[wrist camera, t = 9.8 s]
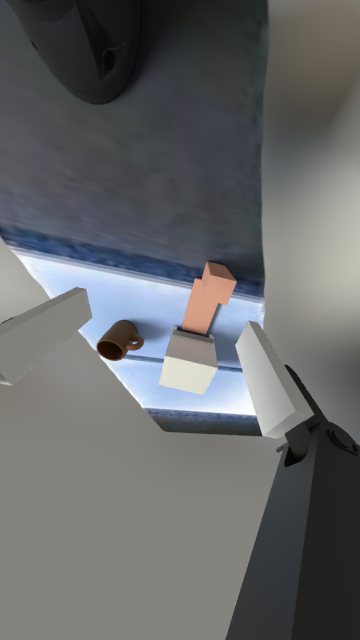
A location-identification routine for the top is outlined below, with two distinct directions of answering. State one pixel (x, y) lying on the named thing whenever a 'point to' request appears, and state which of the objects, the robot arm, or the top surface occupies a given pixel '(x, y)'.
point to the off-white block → (189, 362)
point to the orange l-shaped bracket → (208, 297)
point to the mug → (119, 341)
